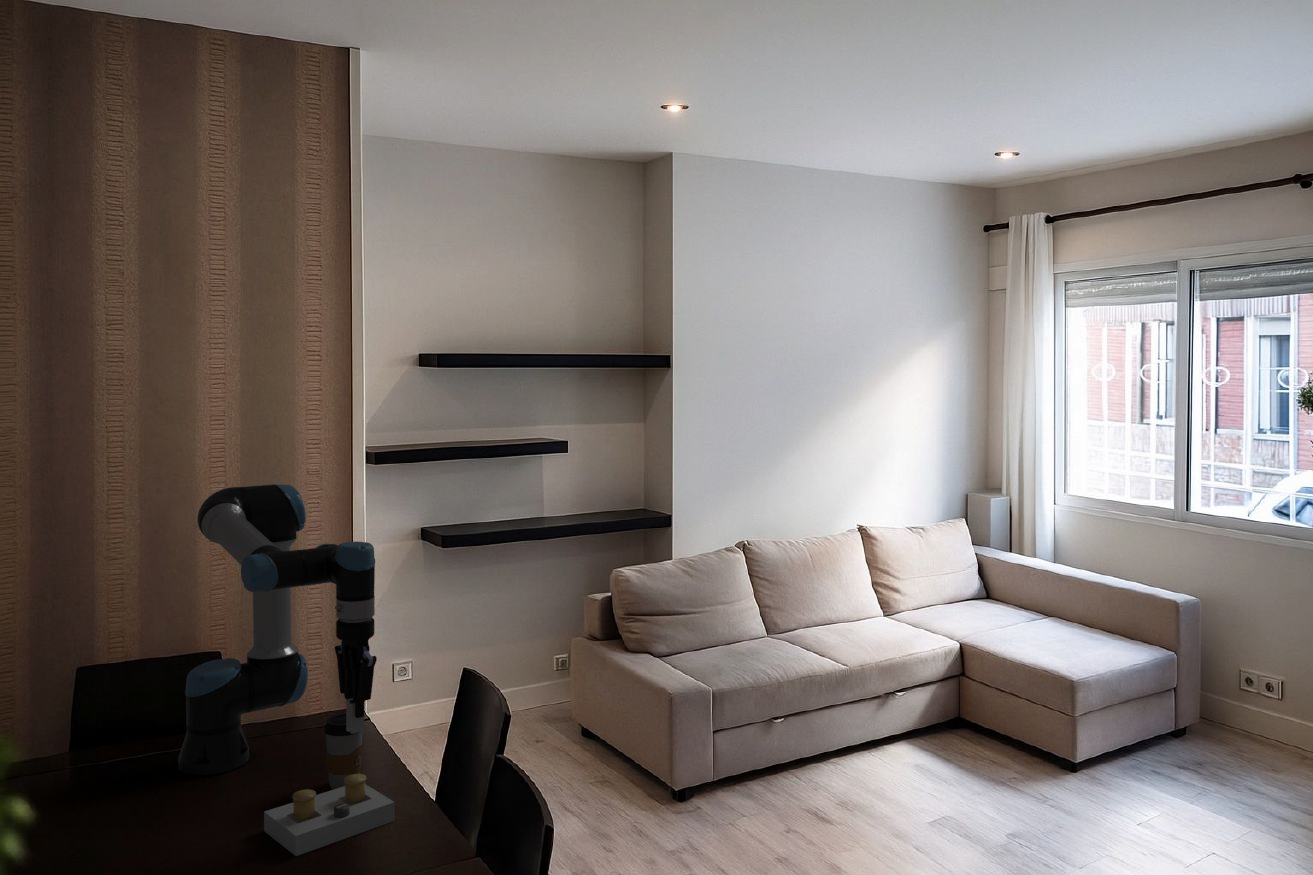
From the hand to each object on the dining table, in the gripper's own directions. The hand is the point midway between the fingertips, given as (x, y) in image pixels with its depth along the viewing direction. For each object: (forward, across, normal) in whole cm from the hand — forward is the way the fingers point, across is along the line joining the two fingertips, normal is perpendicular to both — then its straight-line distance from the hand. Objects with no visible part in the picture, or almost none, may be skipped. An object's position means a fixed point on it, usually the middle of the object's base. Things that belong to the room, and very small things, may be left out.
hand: (355, 730), depth 195 cm
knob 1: (+14, 0, -11) cm, 18 cm away
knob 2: (+14, 0, 0) cm, 14 cm away
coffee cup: (+19, -16, +6) cm, 25 cm away
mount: (+18, 0, -6) cm, 19 cm away
